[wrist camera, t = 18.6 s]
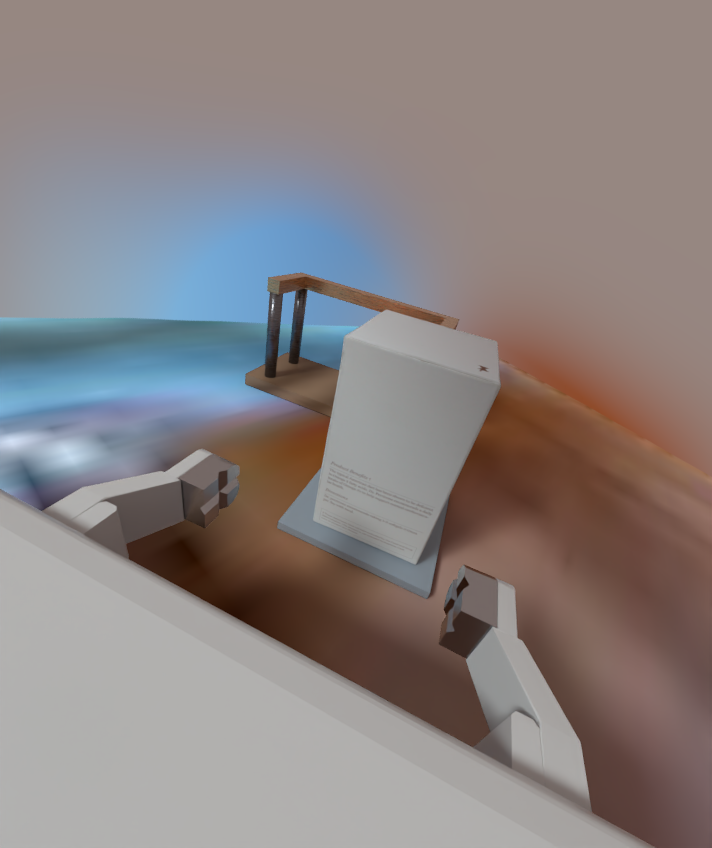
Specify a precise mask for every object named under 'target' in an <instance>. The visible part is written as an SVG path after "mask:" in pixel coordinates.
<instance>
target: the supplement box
mask: <svg viewBox="0 0 712 848" xmlns="http://www.w3.org/2000/svg"><path fill="white" fill-rule="evenodd" d="M500 387H501V382H500V375H499V359H498V344H497V342H496V341H493V340H490V339H487V338H483V337H479V336H476V335H472V334H469V333H465V332H461V331H458V330H455V329H451V328H448V327H444V326H441V325H438V324H434V323H431V322H427V321H424V320H420V319H417V318H414V317H410V316H407V315H403V314H400V313H397V312H393V311H390V310H385V311H383V312H381V313H380V314H379V315H377V316H376V317H374V318H372V319H371V320H369V321H368V322H367V323H365V324H364V325H362V326H361V327H359V328H357V329H355V330H354V331H352V332H350V333H349V334H347V335H345V336H344V341H343V349H342V357H341V364H340V370H339V376H338V381H337V387H336V392H335V398H334V403H333V409H332V414H331V420H330V425H329V430H328V435H327V441H326V447H325V452H324V457H323V463H322V468H321V474H320V480H319V486H318V493H317V499H316V504H315V510H314V517H313V521H315V522H317V523H319V524H322V525H324V526H327V527H329V528H332V529H334V530H336V531H339V532H341V533H343V534H345V535H348V536H350V537H352V538H355V539H357V540H359V541H362V542H364V543H366V544H369V545H371V546H373V547H376V548H378V549H380V550H382V551H385V552H387V553H389V554H392V555H394V556H396V557H399V558H401V559H403V560H406V561H408V562H410V563H412V564H417V562H418V560H419V558H420V556H421V554H422V552H423V550H424V548H425V546H426V544H427V541H428V539H429V537H430V535H431V533H432V531H433V529H434V527H435V524H436V522H437V520H438V518H439V516H440V514H441V512H442V510H443V508H444V505H445V503H446V501H447V499H448V497H449V495H450V493H451V491H452V489H453V487H454V484H455V482H456V480H457V478H458V476H459V474H460V472H461V470H462V468H463V465H464V463H465V461H466V459H467V457H468V455H469V453H470V451H471V448H472V446H473V444H474V442H475V440H476V438H477V436H478V434H479V432H480V430H481V427H482V425H483V423H484V421H485V419H486V417H487V415H488V413H489V410H490V408H491V406H492V404H493V402H494V400H495V398H496V396H497V394H498V392H499V390H500Z"/></svg>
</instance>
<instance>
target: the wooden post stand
mask: <svg viewBox="0 0 712 848" xmlns="http://www.w3.org/2000/svg"><path fill="white" fill-rule="evenodd" d="M307 290H310V291H314V292H317V293H320V294H324V295H327V296H330V297H333V298H337V299H340V300H343V301H346V302H350V303H353V304H356V305H359V306H363V307H366V308H369V309H373V310H376V311H379V312H383V311H385V310H390V311H393V312H397V313H400V314H403V315H407V316H410V317H414V318H417V319H420V320H424V321H427V322H431V323H434V324H438V325H441V326H444V327H448V328H451V329H455V330H456V327H457V324H458V321H459V319H456V318H453V317H449V316H446V315H442V314H439V313H435V312H432V311H429V310H425V309H422V308H419V307H415V306H412V305H409V304H405V303H402V302H399V301H395V300H392V299H388V298H385V297H382V296H378V295H375V294H372V293H368V292H365V291H361V290H358V289H355V288H351V287H348V286H345V285H341V284H338V283H334V282H331V281H328V280H324V279H321V278H318V277H314V276H311V275H307V274H304V273H296V274H289V275H282V276H276V277H268V290H267V291H269V292H270V299H269V313H268V328H267V343H266V358H265V372H264V376H265V377H268V378H274V377H276V368H277V357H278V345H279V334H280V322H281V311H282V298H283V294H284V293H288V292H292V291H296V295H295V304H294V313H293V323H292V332H291V341H290V351H289V360H288V362H289V363H291V364H298V363H299V355H300V347H301V339H302V330H303V322H304V314H305V306H306V298H307Z"/></svg>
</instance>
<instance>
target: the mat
mask: <svg viewBox="0 0 712 848" xmlns="http://www.w3.org/2000/svg"><path fill="white" fill-rule="evenodd" d="M321 468H322V467H321ZM320 474H321V469H320V470H319V471H318V472H317V474H316V475H315V476H314V477H313V479H312V480H311V481H310V482H309V484H308V485H307V486H306V487H305V489H304V490H303V491H302V492H301V494H300V495H299V496H298V497H297V499H296V500H295V501H294V502H293V504H292V505H291V506H290V507H289V509H288V510H287V511H286V512H285V514H284V515H283V516H282V517H281V519H280V520H279V521H278V527H277V528H278V529H280V530H283V531H285V532H287V533H289V534H291V535H293V536H295V537H297V538H299V539H301V540H304V541H306V542H308V543H310V544H312V545H314V546H316V547H318V548H320V549H323V550H325V551H327V552H329V553H331V554H333V555H335V556H337V557H339V558H341V559H344V560H346V561H348V562H350V563H352V564H354V565H356V566H358V567H360V568H362V569H365V570H367V571H369V572H371V573H373V574H375V575H377V576H379V577H381V578H384V579H386V580H388V581H390V582H392V583H394V584H396V585H398V586H400V587H402V588H405V589H407V590H409V591H411V592H413V593H415V594H417V595H419V596H421V597H423V598H426V599H427V598H428V596H429V594H430V590H431V586H432V581H433V576H434V571H435V566H436V561H437V556H438V551H439V546H440V541H441V536H442V531H443V526H444V521H445V516H446V511H447V506H448V501H449V497H450V495H449V497H448V499H447V501H446V503H445V505H444V508H443V510H442V512H441V514H440V516H439V518H438V520H437V522H436V524H435V527H434V529H433V531H432V533H431V535H430V537H429V539H428V541H427V544H426V546H425V548H424V550H423V552H422V554H421V556H420V558H419V560H418V562H417V564H412V563H410V562H408V561H406V560H403V559H401V558H399V557H396V556H394V555H392V554H389V553H387V552H385V551H382V550H380V549H378V548H376V547H373V546H371V545H369V544H366V543H364V542H362V541H359V540H357V539H355V538H352V537H350V536H348V535H345V534H343V533H341V532H339V531H336V530H334V529H332V528H329V527H327V526H324V525H322V524H319V523H317V522H315V521H313V517H314V510H315V504H316V499H317V493H318V486H319V480H320Z"/></svg>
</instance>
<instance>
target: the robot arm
mask: <svg viewBox="0 0 712 848" xmlns="http://www.w3.org/2000/svg"><path fill="white" fill-rule="evenodd" d="M238 475H239V466H238V465H236V464H234V463H232V462H230V461H228V460H226V459H223V458H221V457H219V456H217V455H215V454H212V453H210V452H208V451H206V450H204V449H200V450H197V451H196V452H194V453H193V454H191V455H190V456H188V457H187V458H185V459H184V460H182V461H181V462H179V463H178V464H177V465H175V466H174V467H172V468H171V469H169V470H168V471H166V472H165V473H164V472H162V471H159V472H154V473H149V474H145V475H140V476H135V477H130V478H125V479H121V480H116V481H111V482H106V483H101V484H97V485H92V486H87V487H82V488H81V489H79V490H77V491H76V492H74V493H72V494H70V495H69V496H67V497H65V498H64V499H62V500H60V501H58V502H57V503H55V504H53V505H52V506H50V507H48V508H46V509H45V510H43V511H40V510H38V509H36V508H34V507H32V506H30V505H29V504H27V503H25V502H23V501H21V500H20V499H18V498H16V497H14V496H12V495H10V494H9V493H7V492H5V491H3V490H1V489H0V848H656V847H654V846H652V845H650V844H648V843H647V842H645V841H643V840H641V839H639V838H637V837H636V836H634V835H632V834H630V833H628V832H626V831H625V830H623V829H621V828H619V827H617V826H615V825H614V824H612V823H610V822H608V821H606V820H604V819H603V818H601V817H599V816H597V815H595V814H593V813H592V809H591V803H590V797H589V791H588V785H587V779H586V772H585V766H584V760H583V754H582V748H581V742H580V741H579V739H578V737H577V735H576V734H575V732H574V730H573V728H572V726H571V725H570V723H569V721H568V719H567V718H566V716H565V714H564V712H563V711H562V709H561V707H560V705H559V704H558V702H557V700H556V698H555V697H554V695H553V693H552V691H551V690H550V688H549V686H548V684H547V682H546V681H545V679H544V677H543V675H542V674H541V672H540V670H539V668H538V667H537V665H536V663H535V661H534V660H533V658H532V656H531V654H530V653H529V651H528V649H527V647H526V645H525V644H524V642H523V641H522V640H520V639H518V635H517V616H516V597H515V588H514V586H513V585H510V584H508V583H506V582H503V581H501V580H499V579H496V578H494V577H492V576H490V575H487V574H485V573H483V572H480V571H478V570H476V569H473V568H471V567H469V566H466V565H463V566H462V567H461V568H460V570H459V572H458V579H455V580H453V582H452V584H451V585H450V587H449V590H448V593H447V596H446V600H445V605H444V611H445V614H446V617H445V618H444V620H443V622H442V624H441V631H440V638H439V645H441V646H443V647H445V648H447V649H449V650H451V651H453V652H454V653H456V654H458V655H460V656H462V657H464V658H466V662H467V665H468V668H469V671H470V674H471V677H472V680H473V683H474V686H475V689H476V692H477V694H478V697H479V700H480V703H481V706H482V709H483V712H484V715H485V718H486V721H487V724H488V727H489V730H490V733H489V734H488V735H487V736H486V737H484V738H483V739H482V740H481V741H480V742H479V743H477V744H476V745H475V746H474V747H471V746H469V745H467V744H465V743H464V742H462V741H460V740H458V739H456V738H454V737H453V736H451V735H449V734H447V733H445V732H443V731H442V730H440V729H438V728H436V727H434V726H433V725H431V724H429V723H427V722H425V721H423V720H422V719H420V718H418V717H416V716H414V715H412V714H411V713H409V712H407V711H405V710H403V709H401V708H400V707H398V706H396V705H394V704H392V703H390V702H389V701H387V700H385V699H383V698H381V697H379V696H378V695H376V694H374V693H372V692H370V691H369V690H367V689H365V688H363V687H361V686H359V685H358V684H356V683H354V682H352V681H350V680H348V679H347V678H345V677H343V676H341V675H339V674H337V673H336V672H334V671H332V670H330V669H328V668H327V667H325V666H323V665H321V664H319V663H317V662H316V661H314V660H312V659H310V658H308V657H306V656H305V655H303V654H301V653H299V652H297V651H296V650H294V649H292V648H290V647H288V646H286V645H285V644H283V643H281V642H279V641H277V640H275V639H274V638H272V637H270V636H268V635H266V634H264V633H263V632H261V631H259V630H257V629H255V628H253V627H252V626H250V625H248V624H246V623H244V622H243V621H241V620H239V619H237V618H235V617H233V616H232V615H230V614H228V613H226V612H224V611H222V610H221V609H219V608H217V607H215V606H213V605H211V604H210V603H208V602H206V601H204V600H202V599H200V598H199V597H197V596H195V595H193V594H191V593H189V592H188V591H186V590H184V589H182V588H180V587H178V586H177V585H175V584H173V583H171V582H169V581H167V580H166V579H164V578H162V577H160V576H158V575H157V574H155V573H153V572H151V571H149V570H147V569H146V568H144V567H142V566H140V565H138V564H136V563H135V562H133V561H131V560H129V559H128V556H129V555H128V551H127V547H126V543H129V542H131V541H134V540H136V539H139V538H141V537H144V536H146V535H149V534H151V533H154V532H156V531H159V530H161V529H164V528H166V527H169V526H171V525H174V524H176V523H179V522H181V521H184V519H186V520H188V521H190V522H192V523H194V524H197V525H199V526H201V527H203V528H206V527H207V526H208V525H209V524H210V523H211V522H212V521H214V520H215V519H216V518H217V517H218V516H219V510H220V509H223V508H226V507H228V506H229V505H230V504H231V503H232V502H233V500H234V499H235V497H236V495H237V493H238V490H239V482H238V480H237V478H236V476H238Z"/></svg>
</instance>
